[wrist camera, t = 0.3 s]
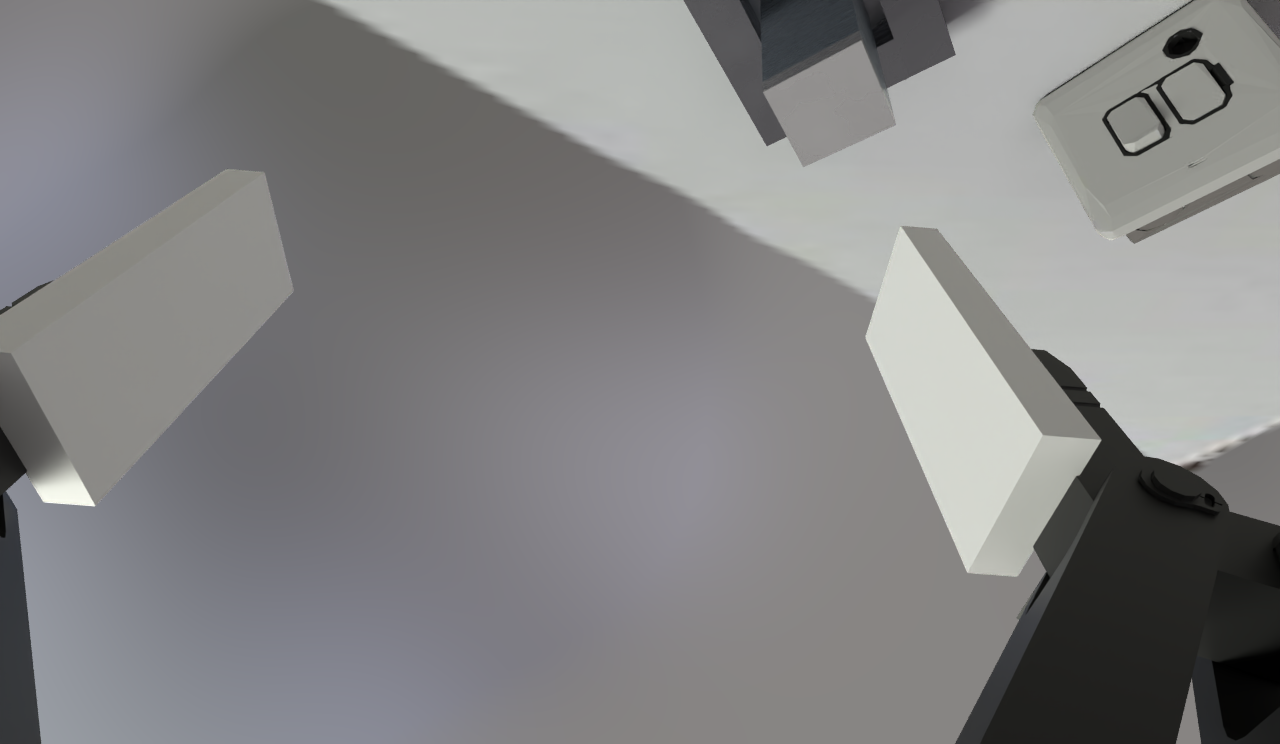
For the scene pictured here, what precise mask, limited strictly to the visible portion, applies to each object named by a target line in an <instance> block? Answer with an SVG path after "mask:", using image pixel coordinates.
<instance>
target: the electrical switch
mask: <svg viewBox="0 0 1280 744" xmlns="http://www.w3.org/2000/svg"><path fill="white" fill-rule="evenodd" d="M1033 116H1034V118H1035V120H1036V123H1037V125H1038V127H1039V129H1040V130H1041V132H1042V134H1043V136H1044V138H1045V140H1046V141H1047V143H1048V145H1049V147H1050V149H1051V150H1052V152H1053V154H1054V156H1055V158H1056V159H1057V161H1058V163H1059V165H1060V166H1061V168H1062V170H1063V172H1064V174H1065V175H1066V177H1067V179H1068V181H1069V183H1070V184H1071V186H1072V188H1073V190H1074V192H1075V193H1076V195H1077V197H1078V199H1079V201H1080V202H1081V204H1082V206H1083V208H1084V210H1085V211H1086V213H1087V215H1088V217H1089V218H1090V220H1091V222H1092V224H1093V226H1094V228H1095V229H1096V231H1097V233H1098V234H1099V235H1100V236H1102V237H1104V238H1106V239H1109V240H1111V241H1112V240H1114V239H1117V238H1119V237H1122V236H1124V235H1127V237H1128V238H1129V239H1130V241H1132V242H1133V243H1134V244H1135V243H1137V242H1139V241H1141V240H1143V239H1145V238H1147V237H1149V236H1151V235H1154V234H1156V233H1158V232H1160V231H1162V230H1164V229H1166V228H1168V227H1170V226H1172V225H1174V224H1176V223H1178V222H1181V221H1183V220H1185V219H1187V218H1189V217H1191V216H1193V215H1195V214H1197V213H1199V212H1201V211H1203V210H1205V209H1208V208H1210V207H1212V206H1214V205H1216V204H1218V203H1220V202H1222V201H1224V200H1226V199H1228V198H1230V197H1232V196H1235V195H1237V194H1239V193H1241V192H1243V191H1245V190H1247V189H1249V188H1251V187H1253V186H1255V185H1257V184H1259V183H1262V182H1264V181H1266V180H1268V179H1270V178H1272V177H1274V176H1276V175H1278V174H1280V40H1279V39H1278V38H1277V36H1276V35H1275V34H1274V33H1273V32H1272V30H1271V29H1270V28H1269V27H1268V26H1267V25H1266V23H1265V22H1264V21H1263V20H1262V19H1261V17H1260V16H1259V15H1258V14H1257V13H1256V12H1255V10H1254V9H1253V8H1252V7H1251V6H1250V5H1249V3H1248V2H1247V1H1246V0H1194V1H1193V2H1191V3H1190V4H1188V5H1186V6H1185V7H1183V8H1182V9H1180V10H1179V11H1177V12H1176V13H1174V14H1173V15H1171V16H1169V17H1168V18H1166V19H1165V20H1163V21H1162V22H1160V23H1159V24H1157V25H1156V26H1154V27H1153V28H1151V29H1149V30H1148V31H1146V32H1145V33H1143V34H1142V35H1140V36H1139V37H1137V38H1136V39H1134V40H1132V41H1131V42H1129V43H1128V44H1126V45H1125V46H1123V47H1122V48H1120V49H1119V50H1117V51H1116V52H1114V53H1112V54H1111V55H1109V56H1108V57H1106V58H1105V59H1103V60H1102V61H1100V62H1099V63H1097V64H1095V65H1094V66H1092V67H1091V68H1089V69H1088V70H1086V71H1085V72H1083V73H1082V74H1080V75H1078V76H1077V77H1075V78H1074V79H1072V80H1071V81H1069V82H1068V83H1066V84H1065V85H1063V86H1062V87H1060V88H1058V89H1057V90H1055V91H1054V92H1052V93H1051V94H1049V95H1048V96H1046V97H1045V98H1043V99H1041V100H1040V101H1039V102H1038V103H1037V104H1036V107H1035V110H1034V112H1033ZM1183 206H1185V207H1184V208H1183ZM1140 229H1142V230H1140Z"/></svg>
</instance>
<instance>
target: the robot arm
mask: <svg viewBox="0 0 1280 744" xmlns="http://www.w3.org/2000/svg"><path fill="white" fill-rule="evenodd" d="M293 291H294V290H293V286H292V282H291V277H290V274H289V270H288V266H287V261H286V257H285V254H284V250H283V245H282V241H281V237H280V233H279V229H278V225H277V221H276V217H275V213H274V209H273V205H272V201H271V197H270V193H269V189H268V185H267V181H266V177H265V173H264V172H256V171H244V170H232V169H226V170H224V171H223V172H221V173H220V174H218V175H217V176H215V177H214V178H212V179H210V180H209V181H207V182H206V183H204V184H203V185H201V186H200V187H198V188H197V189H195V190H194V191H192V192H190V193H189V194H187V195H186V196H184V197H183V198H181V199H179V200H178V201H176V202H175V203H173V204H172V205H170V206H169V207H167V208H166V209H164V210H162V211H161V212H159V213H158V214H156V215H155V216H153V217H152V218H150V219H148V220H147V221H145V222H144V223H142V224H141V225H139V226H138V227H136V228H135V229H133V230H132V231H130V232H128V233H127V234H125V235H124V236H122V237H121V238H119V239H117V240H116V241H114V242H113V243H111V244H110V245H108V246H107V247H105V248H104V249H102V250H100V251H99V252H97V253H96V254H94V255H93V256H91V257H90V258H88V259H86V260H85V261H83V262H82V263H80V264H79V265H77V266H76V267H74V268H73V269H71V270H70V271H68V272H66V273H65V274H63V275H62V276H60V277H59V278H57V279H55V280H53V281H51V282H48V283H45V284H43V285H40V286H38V287H36V288H35V289H33V290H31V291H30V292H28V293H27V294H25V295H24V296H22V297H20V298H19V299H17V300H16V301H14V302H13V303H12V307H8V306H6V307H5V308H3V309H2V310H0V744H41V737H40V728H39V718H38V708H37V699H36V689H35V679H34V670H33V659H32V650H31V640H30V630H29V621H28V612H27V601H26V593H25V592H26V591H25V582H24V572H23V562H22V553H21V544H20V533H19V524H18V514H17V509H16V507H15V505H14V503H13V502H12V500H11V499H10V497H9V496H8V494H7V492H6V490H7V489H8V488H9V487H10V486H12V485H13V484H14V483H15V482H16V481H17V480H18V479H19V478H20V477H21V476H22V475H24V474H25V473H26V474H27V476H28V478H29V479H30V481H31V482H32V484H33V486H34V487H35V489H36V490H37V492H38V494H39V495H40V497H41V498H42V500H43V502H47V503H60V504H74V505H87V506H96V505H97V504H98V503H99V502H100V501H101V500H102V499H103V498H104V496H105V495H106V494H107V493H108V492H109V491H110V490H111V489H112V488H113V487H114V486H115V484H117V482H118V481H119V480H120V479H121V478H122V477H123V476H124V475H125V474H126V473H127V471H128V470H129V469H130V468H131V467H132V466H133V465H134V464H135V463H136V462H137V461H138V460H139V458H140V457H141V456H142V455H143V454H144V453H145V452H146V451H147V450H148V449H149V448H150V447H151V445H152V444H153V443H154V442H155V441H156V440H157V439H158V438H159V437H160V436H161V434H162V433H163V432H164V431H165V430H166V429H167V428H168V427H169V426H170V425H171V424H172V423H173V422H174V421H175V419H176V418H177V417H178V416H179V415H180V414H181V413H182V412H183V411H184V409H186V407H187V406H188V405H189V404H190V403H191V402H192V401H193V400H194V399H195V398H196V397H197V396H198V394H199V393H200V392H201V391H202V390H203V389H204V388H205V387H206V386H207V385H208V383H209V382H210V381H211V380H212V379H213V378H214V377H215V376H216V375H217V374H218V373H219V372H220V371H221V369H222V368H223V367H224V366H225V365H226V364H227V363H228V362H229V361H230V360H231V359H232V358H233V356H234V355H235V354H236V353H237V352H238V351H239V350H240V349H241V348H242V347H243V345H244V344H245V343H246V342H247V341H248V340H249V339H250V338H251V337H252V336H253V335H254V333H256V331H257V330H258V329H259V328H260V327H261V326H262V325H263V324H264V323H265V322H266V321H267V320H268V318H269V317H270V316H271V315H272V314H273V313H274V312H275V311H276V310H277V309H278V308H279V306H280V305H281V304H282V303H283V302H284V301H285V300H286V299H287V298H288V297H289V296H290V294H291V293H292V292H293ZM865 338H866V340H867V342H868V345H869V347H870V349H871V351H872V354H873V356H874V359H875V361H876V363H877V365H878V368H879V370H880V372H881V375H882V377H883V379H884V381H885V384H886V386H887V388H888V391H889V393H890V395H891V398H892V400H893V402H894V404H895V407H896V409H897V411H898V414H899V416H900V418H901V421H902V423H903V425H904V427H905V430H906V432H907V434H908V437H909V439H910V441H911V444H912V446H913V448H914V450H915V453H916V455H917V458H918V460H919V462H920V464H921V467H922V469H923V471H924V474H925V476H926V478H927V480H928V483H929V485H930V487H931V490H932V492H933V494H934V497H935V499H936V501H937V504H938V506H939V508H940V510H941V513H942V515H943V517H944V520H945V522H946V524H947V527H948V529H949V531H950V533H951V536H952V538H953V540H954V543H955V545H956V547H957V550H958V552H959V554H960V556H961V559H962V561H963V563H964V566H965V568H966V570H967V573H977V574H990V575H1003V576H1016V577H1017V576H1018V575H1019V573H1020V572H1021V570H1022V568H1023V567H1024V565H1025V563H1026V562H1027V560H1028V558H1029V557H1030V555H1031V554H1032V552H1033V550H1035V551H1036V553H1037V555H1038V557H1039V559H1040V560H1041V562H1042V564H1043V566H1044V568H1045V569H1046V573H1045V574H1044V576H1043V578H1042V579H1041V581H1040V582H1039V584H1038V585H1037V587H1036V588H1035V590H1034V591H1033V593H1032V594H1031V596H1030V598H1029V599H1028V601H1027V602H1026V604H1025V605H1024V607H1023V608H1022V610H1021V611H1020V613H1019V614H1018V616H1017V619H1019V622H1018V624H1017V626H1016V627H1015V629H1014V631H1013V633H1012V635H1011V637H1010V639H1009V641H1008V643H1007V645H1006V647H1005V649H1004V650H1003V653H1002V654H1001V656H1000V658H999V660H998V662H997V664H996V666H995V668H994V670H993V672H992V674H991V676H990V677H989V680H988V681H987V683H986V685H985V687H984V689H983V691H982V693H981V695H980V697H979V699H978V701H977V703H976V704H975V706H974V708H973V710H972V712H971V714H970V716H969V718H968V720H967V722H966V724H965V726H964V728H963V730H962V732H961V733H960V735H959V737H958V739H957V741H956V743H955V744H1176V740H1177V736H1178V732H1179V728H1180V723H1181V720H1182V715H1183V711H1184V707H1185V703H1186V699H1187V694H1188V691H1189V686H1190V682H1191V678H1192V682H1193V689H1194V695H1195V703H1196V709H1197V717H1198V724H1199V730H1200V737H1201V744H1280V526H1278V525H1275V524H1271V523H1268V522H1264V521H1260V520H1257V519H1253V518H1250V517H1247V516H1243V515H1239V514H1236V513H1232V512H1229V507H1228V504H1227V503H1226V502H1225V500H1224V499H1223V498H1222V496H1221V495H1220V494H1219V492H1218V491H1217V490H1216V489H1214V488H1213V487H1212V486H1210V485H1209V484H1208V483H1207V482H1206V481H1204V480H1203V479H1202V478H1201V477H1199V476H1197V475H1195V474H1193V473H1192V472H1190V471H1188V470H1186V469H1184V468H1182V467H1181V466H1178V465H1175V464H1172V463H1170V462H1167V461H1164V460H1161V459H1158V458H1151V457H1144V456H1143V455H1142V453H1141V452H1140V451H1139V450H1138V449H1137V447H1136V446H1135V445H1134V444H1133V443H1132V441H1131V440H1130V439H1129V438H1128V437H1127V435H1126V434H1125V433H1124V432H1123V431H1122V429H1121V428H1120V427H1119V426H1118V425H1117V423H1116V422H1115V421H1114V420H1113V418H1112V417H1111V416H1110V415H1109V414H1108V412H1107V411H1106V410H1105V409H1104V408H1100V403H1099V402H1098V400H1097V399H1096V398H1095V397H1094V396H1093V394H1092V393H1091V392H1088V391H1087V387H1086V386H1085V385H1084V384H1083V382H1082V381H1081V380H1080V379H1079V378H1078V376H1077V375H1076V374H1075V373H1074V372H1073V370H1072V369H1071V368H1070V367H1068V366H1067V365H1065V364H1064V363H1062V362H1061V361H1060V360H1058V359H1057V358H1055V357H1054V356H1052V355H1051V354H1050V353H1048V352H1047V351H1045V350H1035V349H1030V347H1029V346H1028V345H1027V344H1026V342H1025V341H1024V340H1023V338H1022V337H1021V336H1020V335H1019V333H1018V332H1017V331H1016V329H1015V328H1014V327H1013V326H1012V324H1011V323H1010V322H1009V320H1008V319H1007V318H1006V317H1005V315H1004V314H1003V313H1002V311H1001V310H1000V309H999V308H998V306H997V305H996V304H995V302H994V301H993V300H992V299H991V297H990V296H989V295H988V294H987V292H986V291H985V290H984V288H983V287H982V286H981V285H980V283H979V282H978V281H977V279H976V278H975V277H974V276H973V274H972V273H971V272H970V270H969V269H968V268H967V267H966V265H965V264H964V263H963V261H962V260H961V259H960V258H959V256H958V255H957V254H956V252H955V251H954V250H953V249H952V247H951V246H950V245H949V243H948V242H947V241H946V240H945V238H944V237H943V236H942V234H941V233H940V232H939V231H938V229H932V228H920V227H908V226H900V229H899V233H898V236H897V239H896V242H895V245H894V248H893V252H892V255H891V258H890V261H889V264H888V267H887V271H886V274H885V277H884V280H883V283H882V286H881V290H880V293H879V296H878V299H877V302H876V305H875V309H874V312H873V315H872V318H871V321H870V325H869V328H868V331H867V334H866V337H865Z"/></svg>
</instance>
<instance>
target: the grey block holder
mask: <svg viewBox="0 0 1280 744" xmlns="http://www.w3.org/2000/svg"><path fill="white" fill-rule="evenodd" d="M684 2H685V4H686V5H687V7H688V9H689V11H690V12H691V14H692V16H693V18H694V19H695V21H696V23H697V25H698V26H699V28H700V30H701V32H702V33H703V35H704V37H705V39H706V40H707V42H708V44H709V46H710V47H711V49H712V51H713V53H714V54H715V56H716V58H717V60H718V61H719V63H720V65H721V67H722V68H723V70H724V72H725V74H726V75H727V77H728V79H729V81H730V82H731V84H732V86H733V88H734V89H735V91H736V93H737V95H738V96H739V98H740V100H741V102H742V103H743V105H744V107H745V109H746V110H747V112H748V114H749V116H750V117H751V119H752V121H753V123H754V124H755V126H756V128H757V130H758V131H759V133H760V135H761V137H762V138H763V140H764V142H765V144H766V145H767V146H768V145H770V144H772V143H775V142H777V141H779V140H781V139H783V138H785V137H787V138H788V139H789V141H790V143H791V145H792V147H793V149H794V151H795V152H796V154H797V156H798V158H799V160H800V162H801V163H802V165H803V167H805V166H807V165H809V164H811V163H813V162H816V161H818V160H820V159H822V158H824V157H827V156H829V155H831V154H833V153H835V152H838V151H840V150H842V149H844V148H846V147H848V146H851V145H853V144H855V143H857V142H859V141H862V140H864V139H866V138H868V137H870V136H873V135H875V134H877V133H879V132H881V131H884V130H886V129H888V128H890V127H892V126H895V125H896V123H895V119H894V115H893V111H892V107H891V103H890V99H889V95H888V91H887V88H888V87H890V86H892V85H894V84H896V83H898V82H901V81H903V80H905V79H907V78H909V77H911V76H913V75H915V74H917V73H919V72H921V71H923V70H925V69H927V68H929V67H932V66H934V65H936V64H938V63H940V62H942V61H944V60H946V59H948V58H950V57H952V56H954V55H956V54H955V51H954V48H953V45H952V42H951V39H950V36H949V32H948V29H947V26H946V23H945V20H944V17H943V13H942V10H941V7H940V4H939V1H938V0H684Z"/></svg>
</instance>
